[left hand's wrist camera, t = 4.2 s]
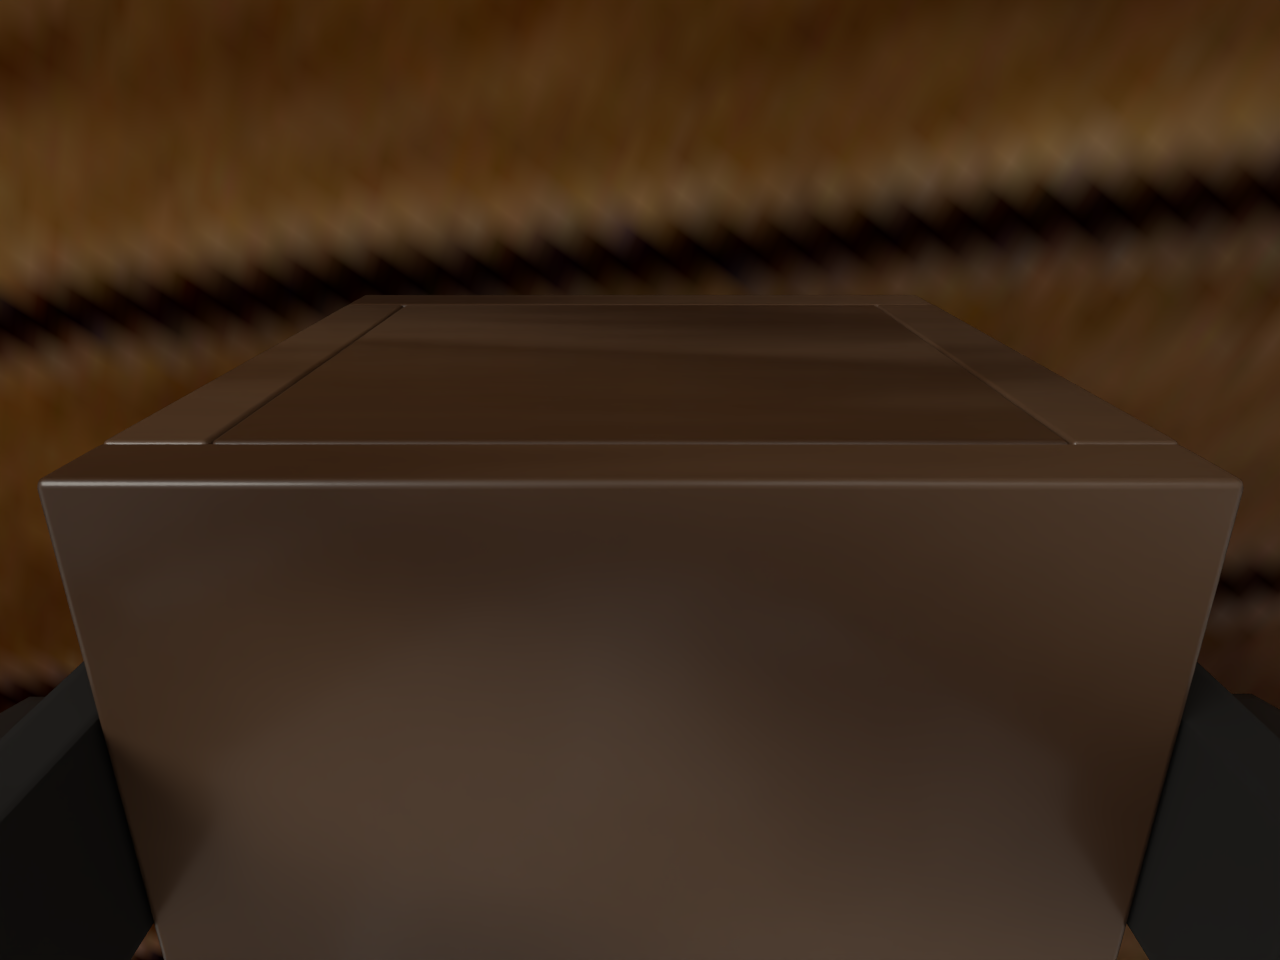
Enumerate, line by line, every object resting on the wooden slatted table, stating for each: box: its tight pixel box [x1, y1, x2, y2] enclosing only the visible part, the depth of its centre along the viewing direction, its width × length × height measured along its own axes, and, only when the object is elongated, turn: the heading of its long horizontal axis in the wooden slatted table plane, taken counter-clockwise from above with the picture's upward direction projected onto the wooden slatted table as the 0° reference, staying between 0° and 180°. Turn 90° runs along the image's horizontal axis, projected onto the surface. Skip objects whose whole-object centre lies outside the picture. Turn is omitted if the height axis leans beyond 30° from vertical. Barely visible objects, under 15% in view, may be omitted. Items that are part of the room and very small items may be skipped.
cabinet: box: [38, 295, 1243, 960], centre depth 15 cm, size 18×11×10 cm, turn 0°
